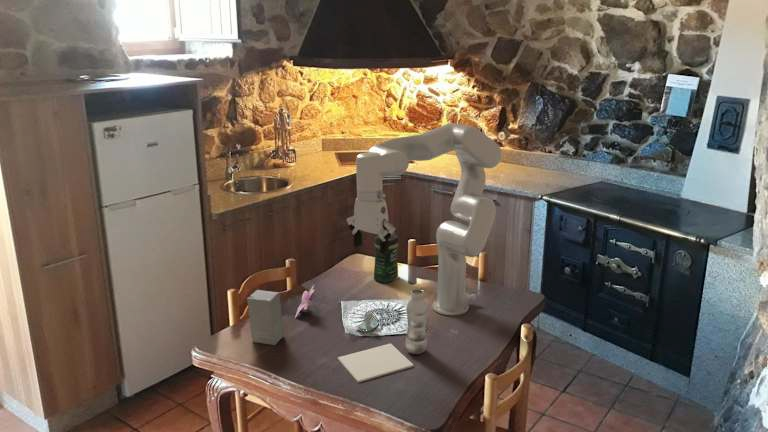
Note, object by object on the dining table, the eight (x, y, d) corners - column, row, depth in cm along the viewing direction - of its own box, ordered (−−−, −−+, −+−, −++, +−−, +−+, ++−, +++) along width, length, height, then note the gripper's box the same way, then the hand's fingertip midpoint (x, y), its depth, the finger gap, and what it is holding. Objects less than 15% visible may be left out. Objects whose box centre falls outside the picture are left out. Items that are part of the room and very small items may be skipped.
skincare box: (284, 336, 195) (282, 291, 191) (273, 347, 189) (270, 300, 184) (261, 332, 198) (258, 287, 193) (249, 342, 192) (246, 296, 187)
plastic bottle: (403, 346, 190) (404, 287, 184) (425, 345, 190) (426, 286, 184) (406, 357, 184) (407, 296, 177) (428, 356, 184) (430, 295, 178)
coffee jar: (386, 285, 234) (387, 239, 228) (370, 280, 238) (370, 235, 232) (401, 277, 241) (402, 232, 235) (385, 272, 246) (385, 228, 240)
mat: (390, 345, 191) (390, 343, 190) (413, 366, 179) (413, 364, 179) (337, 359, 183) (337, 357, 182) (357, 382, 171) (357, 380, 171)
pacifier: (351, 330, 200) (365, 335, 196) (350, 313, 198) (364, 318, 195) (366, 322, 205) (380, 327, 202) (366, 305, 204) (379, 310, 200)
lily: (308, 304, 220) (294, 285, 216) (334, 298, 214) (320, 278, 210) (295, 328, 211) (280, 308, 207) (323, 322, 205) (308, 302, 201)
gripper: (401, 196, 178) (401, 250, 184) (354, 187, 188) (355, 239, 193) (386, 202, 172) (387, 259, 178) (338, 193, 182) (341, 247, 187)
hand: (371, 248), depth 185 cm, fingers open, 9 cm apart
